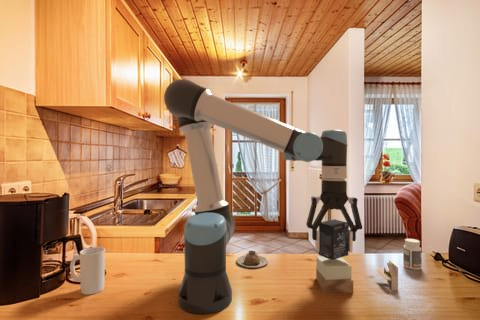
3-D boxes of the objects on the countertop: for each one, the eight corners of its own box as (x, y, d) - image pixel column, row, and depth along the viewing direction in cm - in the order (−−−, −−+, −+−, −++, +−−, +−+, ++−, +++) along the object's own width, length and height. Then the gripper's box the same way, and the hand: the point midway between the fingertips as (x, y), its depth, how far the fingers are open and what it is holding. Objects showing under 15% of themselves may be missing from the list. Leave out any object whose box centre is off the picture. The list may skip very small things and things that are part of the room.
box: (333, 260, 80) (333, 225, 80) (318, 255, 85) (318, 221, 85) (349, 255, 84) (349, 222, 84) (334, 250, 89) (334, 218, 89)
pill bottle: (421, 266, 100) (421, 239, 100) (421, 271, 95) (422, 243, 95) (403, 262, 103) (403, 237, 103) (403, 268, 98) (403, 241, 98)
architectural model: (386, 291, 82) (386, 267, 82) (377, 280, 89) (377, 258, 89) (398, 291, 82) (398, 267, 82) (387, 281, 89) (388, 258, 88)
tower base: (322, 292, 81) (322, 279, 81) (316, 279, 90) (316, 267, 90) (353, 293, 80) (353, 280, 80) (343, 280, 89) (343, 268, 89)
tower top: (325, 279, 81) (325, 266, 81) (316, 268, 89) (316, 256, 89) (351, 279, 81) (351, 265, 81) (340, 268, 89) (340, 256, 89)
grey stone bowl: (230, 263, 103) (230, 251, 103) (252, 255, 112) (252, 244, 112) (252, 273, 95) (252, 260, 95) (274, 263, 103) (274, 251, 103)
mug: (109, 284, 85) (109, 246, 85) (98, 295, 78) (98, 254, 78) (77, 284, 85) (77, 246, 85) (63, 295, 78) (63, 254, 78)
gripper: (300, 180, 82) (299, 253, 82) (375, 181, 80) (374, 256, 80) (297, 178, 89) (296, 245, 89) (365, 179, 87) (365, 247, 87)
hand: (333, 250), depth 85 cm, fingers closed on box, 9 cm apart
